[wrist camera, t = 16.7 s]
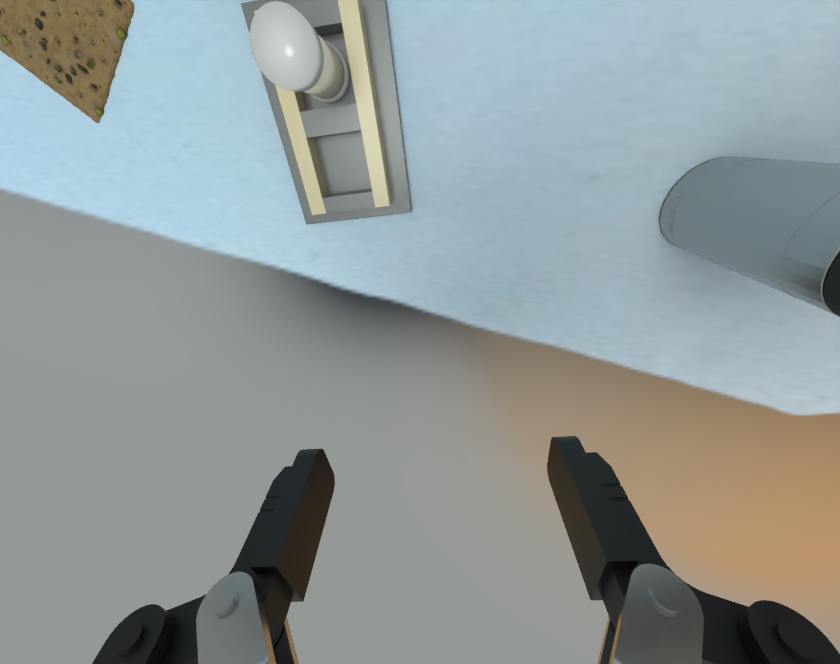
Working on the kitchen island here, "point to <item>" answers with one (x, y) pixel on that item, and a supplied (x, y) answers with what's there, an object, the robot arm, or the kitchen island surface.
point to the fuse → (297, 54)
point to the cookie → (68, 45)
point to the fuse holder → (345, 119)
